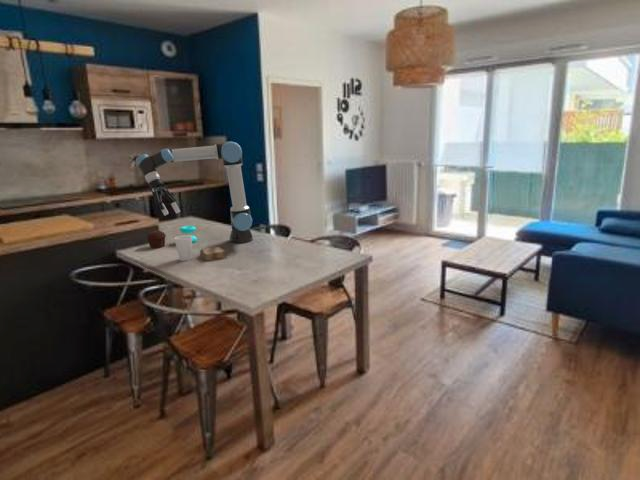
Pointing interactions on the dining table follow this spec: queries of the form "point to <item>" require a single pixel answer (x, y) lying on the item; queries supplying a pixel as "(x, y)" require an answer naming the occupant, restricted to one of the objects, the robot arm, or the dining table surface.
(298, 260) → the dining table surface
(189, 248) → the foam cup
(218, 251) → the pedestal
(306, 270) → the dining table surface
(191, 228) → the donuts
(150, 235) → the muffin
